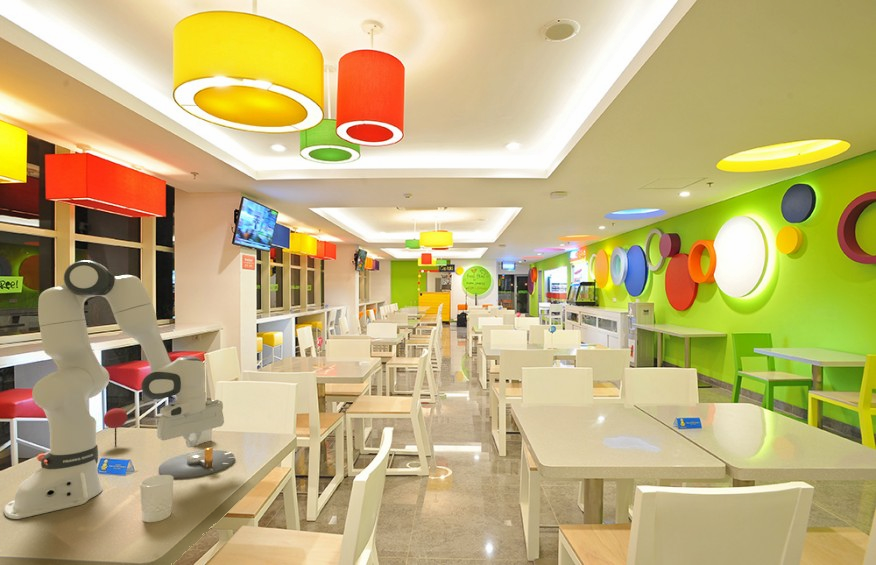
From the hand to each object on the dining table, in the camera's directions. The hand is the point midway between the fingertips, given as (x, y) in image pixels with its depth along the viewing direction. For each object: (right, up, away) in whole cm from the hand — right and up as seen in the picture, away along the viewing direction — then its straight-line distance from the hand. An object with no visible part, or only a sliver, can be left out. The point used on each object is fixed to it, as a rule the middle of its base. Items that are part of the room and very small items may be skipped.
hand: (192, 446), depth 156 cm
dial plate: (-3, -10, +10) cm, 15 cm away
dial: (-1, -9, +8) cm, 12 cm away
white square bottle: (-17, -11, +36) cm, 41 cm away
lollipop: (-47, -11, +31) cm, 58 cm away
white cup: (+5, -10, -28) cm, 30 cm away
